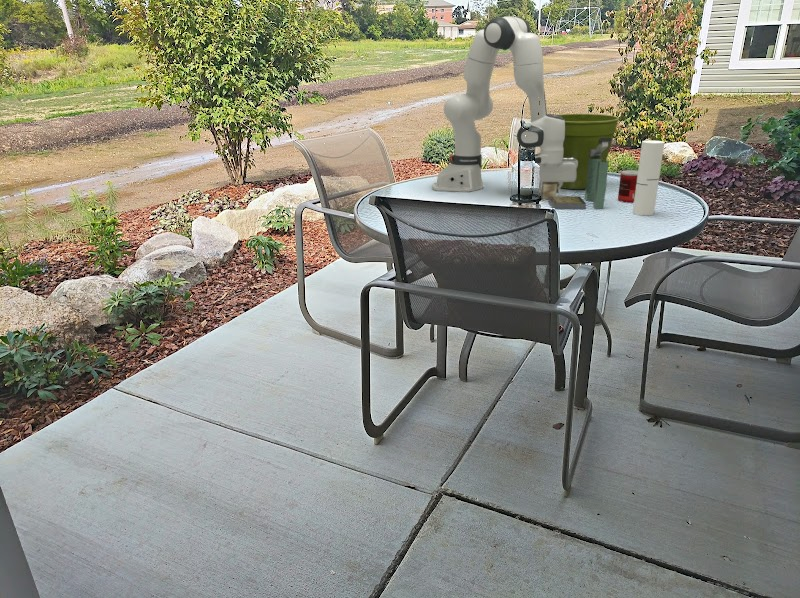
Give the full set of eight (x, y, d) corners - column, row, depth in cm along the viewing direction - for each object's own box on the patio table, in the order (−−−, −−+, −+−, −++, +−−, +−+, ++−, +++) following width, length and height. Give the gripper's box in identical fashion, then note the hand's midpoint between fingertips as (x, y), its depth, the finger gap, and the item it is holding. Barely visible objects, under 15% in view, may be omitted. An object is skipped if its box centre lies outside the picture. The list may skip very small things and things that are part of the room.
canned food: (639, 198, 231) (643, 170, 227) (637, 203, 225) (641, 174, 221) (618, 197, 235) (622, 169, 230) (616, 201, 228) (619, 173, 224)
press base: (552, 209, 219) (556, 163, 213) (546, 198, 235) (549, 155, 228) (605, 209, 218) (610, 162, 211) (594, 198, 233) (599, 155, 227)
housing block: (542, 199, 234) (543, 184, 231) (541, 196, 238) (542, 182, 236) (555, 199, 233) (556, 184, 231) (553, 196, 238) (554, 182, 236)
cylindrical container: (655, 215, 207) (666, 143, 198) (634, 215, 209) (643, 143, 199) (651, 210, 214) (662, 140, 204) (631, 210, 215) (640, 140, 206)
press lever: (589, 158, 226) (589, 149, 226) (599, 158, 226) (600, 149, 226) (600, 147, 210) (600, 138, 210) (611, 147, 210) (611, 137, 210)
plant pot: (542, 178, 274) (546, 113, 263) (609, 180, 266) (617, 113, 255) (538, 191, 247) (543, 120, 236) (612, 194, 240) (621, 121, 229)
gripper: (577, 156, 232) (573, 191, 237) (524, 156, 233) (522, 191, 239) (580, 158, 226) (576, 194, 231) (526, 159, 228) (524, 194, 233)
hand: (548, 192), depth 235 cm, fingers closed on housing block, 5 cm apart
